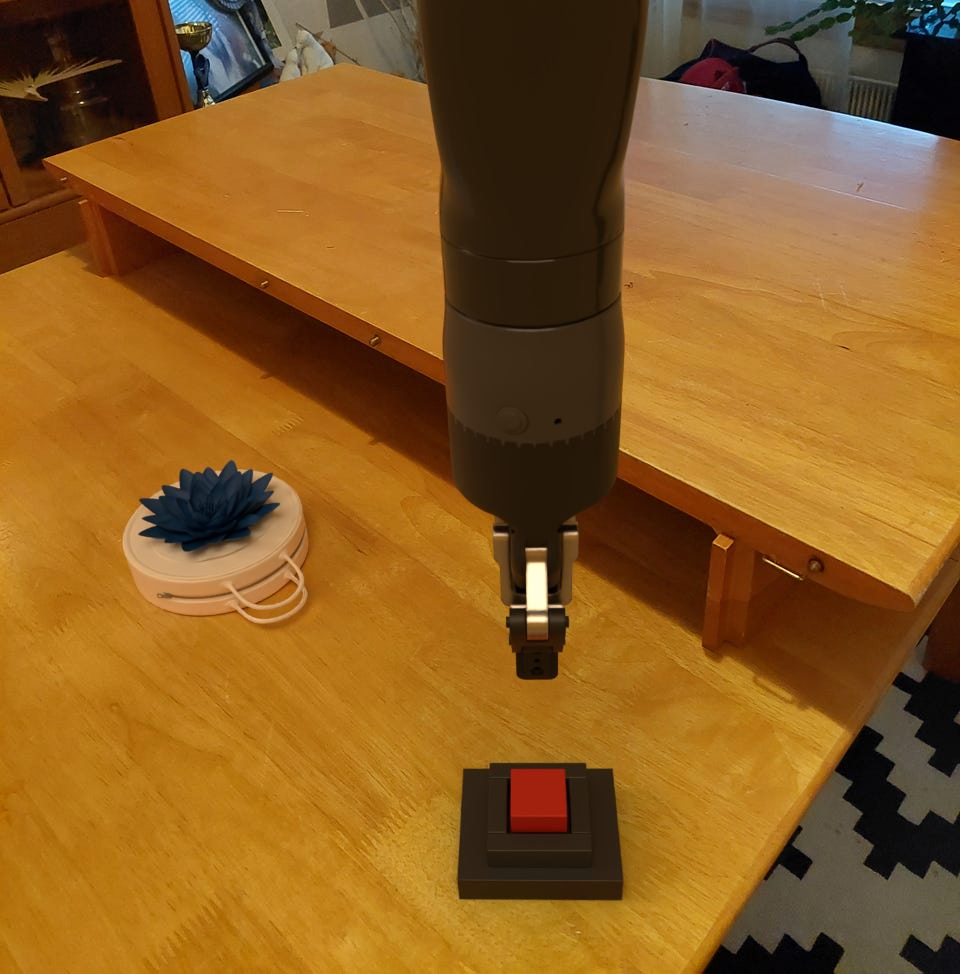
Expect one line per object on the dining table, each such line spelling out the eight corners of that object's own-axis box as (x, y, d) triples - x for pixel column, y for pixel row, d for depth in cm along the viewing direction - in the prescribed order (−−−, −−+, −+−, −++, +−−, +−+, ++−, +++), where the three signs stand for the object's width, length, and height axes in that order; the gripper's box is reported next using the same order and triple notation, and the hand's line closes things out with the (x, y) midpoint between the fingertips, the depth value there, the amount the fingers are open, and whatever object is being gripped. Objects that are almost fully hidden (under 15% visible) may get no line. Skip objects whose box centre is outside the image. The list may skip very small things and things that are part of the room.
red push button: (611, 787, 63) (613, 751, 61) (622, 900, 57) (625, 864, 54) (465, 787, 64) (461, 751, 61) (459, 899, 57) (455, 864, 55)
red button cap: (564, 785, 59) (564, 768, 58) (566, 833, 56) (567, 816, 55) (511, 785, 59) (510, 768, 58) (511, 832, 57) (510, 816, 56)
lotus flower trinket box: (85, 493, 81) (183, 614, 68) (244, 425, 89) (359, 523, 76) (107, 552, 85) (204, 676, 73) (257, 483, 93) (369, 585, 80)
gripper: (639, 480, 34) (617, 770, 44) (609, 311, 45) (598, 577, 55) (434, 483, 34) (461, 770, 45) (454, 316, 45) (472, 578, 55)
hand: (536, 662), depth 50 cm, fingers closed
